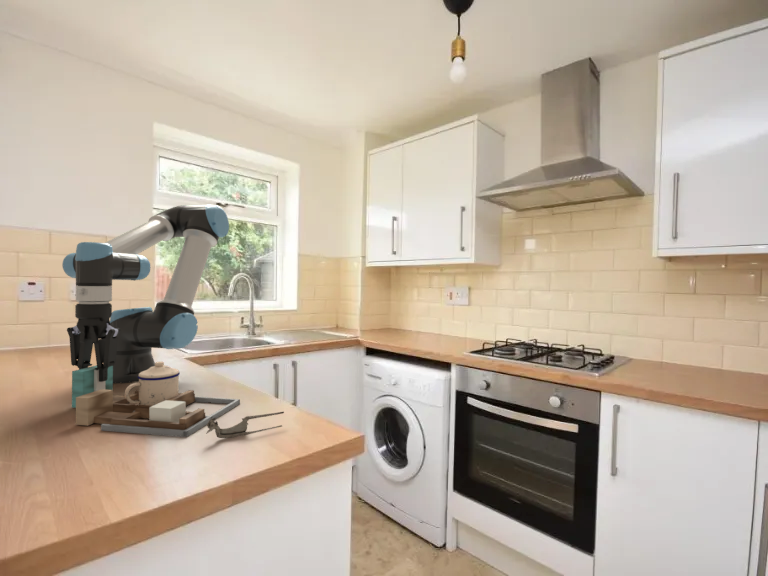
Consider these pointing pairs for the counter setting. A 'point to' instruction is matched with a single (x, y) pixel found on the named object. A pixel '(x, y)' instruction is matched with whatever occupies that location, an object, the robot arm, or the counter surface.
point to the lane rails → (175, 432)
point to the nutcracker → (236, 427)
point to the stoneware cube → (167, 411)
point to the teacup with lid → (155, 385)
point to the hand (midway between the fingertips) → (93, 393)
